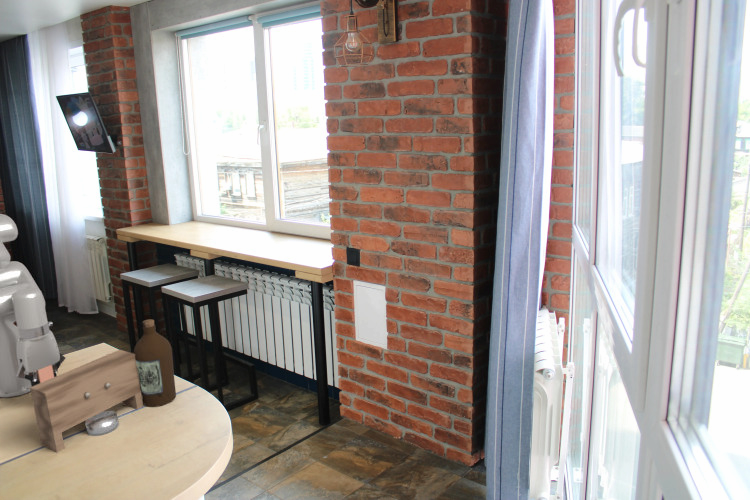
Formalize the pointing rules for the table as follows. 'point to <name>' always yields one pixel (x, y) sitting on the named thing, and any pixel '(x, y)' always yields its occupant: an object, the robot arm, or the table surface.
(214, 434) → the table surface
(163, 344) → the olive oil
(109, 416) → the puck
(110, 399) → the cabinet
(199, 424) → the table surface
